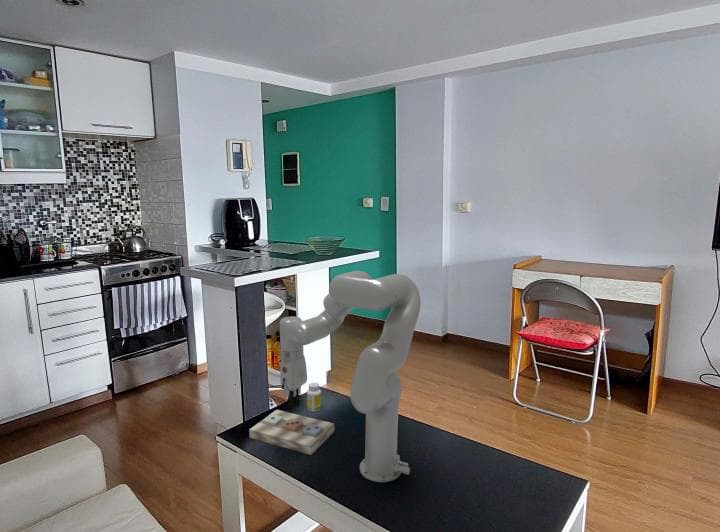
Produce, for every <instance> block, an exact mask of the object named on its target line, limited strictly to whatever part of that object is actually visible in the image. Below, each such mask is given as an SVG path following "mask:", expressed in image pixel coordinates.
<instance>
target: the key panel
mask: <svg viewBox="0 0 720 532" xmlns="http://www.w3.org/2000/svg"><path fill="white" fill-rule="evenodd" d="M270 414H273V415H277V416H282V417H283V421H282V422H281V423H279V424H278V425H277V426H276V427H274V426H270V425H266V424H263V420H264V419H265V418H266V417H268V416H269V415H267V416H266V417H265V418H263V419H262V420H260V421H259V422H258V423H256V424H255V425H254V426H252V427H251V428H249V429H248V432H249V438H250V439H253V440H257V441H261V442H264V443H267V444H271V445H274V446H278V447H282V448H284V449H285V448H286V449H289V450H292V451H297V452H300V453H302V454H306V455H310V456H312V455H313V453H315V452H316V451H317V450H318V448H320V447H321V445H322V444H323V443H325V442H326V441H327V439H329V437H330V436H331V435H333V433H334V432H335V423H332V422H329V421H326V420H325V421H324V420H321V419H317V418H312V417H309V416H304V415H300V414H296V413H291V412H289V411H284V410H280V409H276V410H274V411H272V412H271V413H270ZM289 419H293V420H297V421H301V422H303V426H302V427H300V428H299V429H298V430H297V431H296V432H293V431H289V430H285V429H282V425H283V424H284V423H286V422H287V421H288V420H289ZM309 424H314V425H318V426H322V427H323V431H322V432H321V433H320V434H319V435H318V436H317V437H312V436H308V435H304V434H302V430H303V429H305V428H306V427H307V426H308V425H309Z"/></svg>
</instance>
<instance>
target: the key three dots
mask: <svg viewBox="0 0 720 532" xmlns="http://www.w3.org/2000/svg"><path fill="white" fill-rule="evenodd" d="M302 426H303V422H301V421H297V420H293V419H289V420H288V421H287V422H286V423H284V424H283V425H282V429H285V430H289V431H293V432H296V431H297V430H298V429H299V428H300V427H302Z"/></svg>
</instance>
